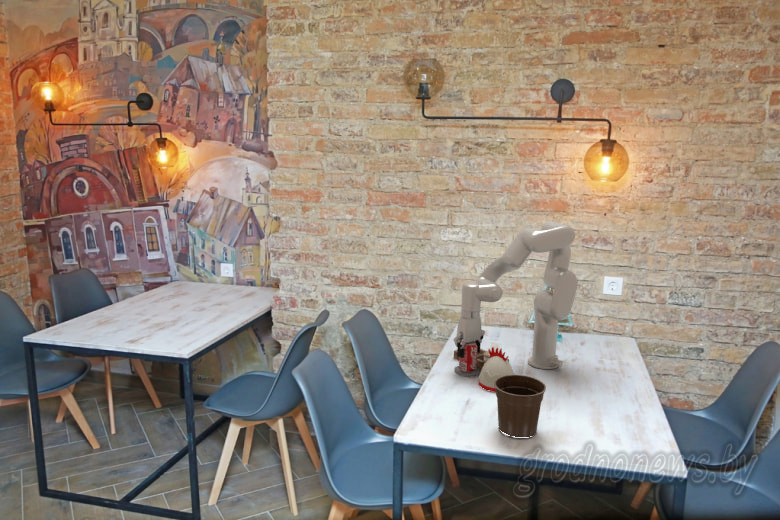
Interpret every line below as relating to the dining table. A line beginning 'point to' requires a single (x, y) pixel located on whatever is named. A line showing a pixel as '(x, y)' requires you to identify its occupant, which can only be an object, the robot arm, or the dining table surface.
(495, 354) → the beige crested helmet
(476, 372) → the coaster
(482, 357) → the caddy
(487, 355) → the sugar jar
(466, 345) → the soda can
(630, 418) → the dining table surface
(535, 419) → the plant pot
